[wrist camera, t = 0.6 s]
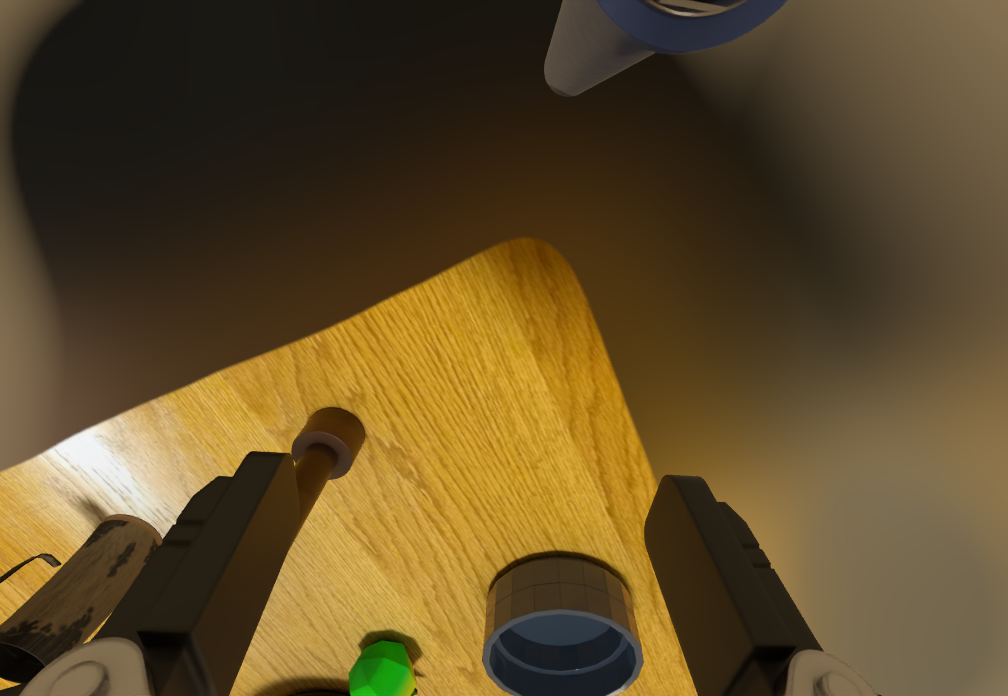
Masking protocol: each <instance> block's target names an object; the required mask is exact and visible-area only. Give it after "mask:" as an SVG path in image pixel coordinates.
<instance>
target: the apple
mask: <svg viewBox="0 0 1008 696" xmlns="http://www.w3.org/2000/svg"><path fill="white" fill-rule="evenodd" d="M416 685H417V683H416V679H415V674H414V670H413V666H412V663H411V661H410V659H409V656H408V654H407V651H406V649H405V646H404V644H402V643H396V642H389V641H383V640H381V641H379V642H377V643H375V644H373V645H371V646H368V647H366V648H364V650H363V652H362V653H361V655H360V656H359V658H358V659H357V661H356V663H355V664H354V666H353V667H352V669H351V671H350V672H349V689H350V695H351V696H413V695H416V694H417V689H416V688H415V687H416Z"/></svg>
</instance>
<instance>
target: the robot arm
mask: <svg viewBox="0 0 1008 696" xmlns="http://www.w3.org/2000/svg"><path fill="white" fill-rule="evenodd" d="M638 1H639V2H641V3H642V4H643V5H644V6H646V7H648V8H649V9H651V10H653V11H655V12H657V13H659V14H661V15H664V16H667V17H671V18H676V19H685V20H694V19H703V18H709V17H713V16H716V15H719V14H722V13H725V12H727V11H729V10H731V9H733V8H735V7H737V6H739V5H741V4H743V3H745V2H746V1H748V0H638ZM299 513H300V502H299V495H298V489H297V482H296V475H295V468H294V461H293V457H292V455H291V454H290V453H277V452H258V451H252V452H250V453H248V454H247V455H246V457H245V458H244V460H243V461H242V463H241V464H240V466H239V468H238V469H237V471H236V472H235V474H234V476H233V477H227V476H218V477H216V478H215V479H214V480H213V481H211V482H210V483H209V484H207V485H206V486H205V487H204V488H202V489H201V490H200V491H199V492H197V493H196V494H195V495H193V497H192V498H191V500H190V501H189V502H188V504H187V505H186V507H185V508H184V510H183V511H182V513H181V514H180V515H179V517H178V518H177V522H176V524H175V525H173V526H172V527H171V528H170V530H169V531H168V533H167V534H166V536H165V537H164V539H163V542H162V544H161V545H159V546H158V547H157V549H156V550H155V551H154V553H153V554H152V556H151V557H150V559H149V560H148V562H147V563H146V564H145V566H144V567H143V569H142V570H141V572H140V573H139V575H138V576H137V577H136V579H135V580H134V582H133V583H132V585H131V586H130V588H129V589H128V590H127V592H126V593H125V595H124V596H123V598H122V599H121V601H120V602H119V603H118V605H117V606H116V608H115V609H114V611H113V612H112V614H111V615H110V616H109V618H108V619H107V621H106V622H105V624H104V625H103V626H102V628H101V629H100V630H99V632H98V633H97V634H96V635H95V636H94V637H93V638H92V639H91V641H90V642H87V643H84V644H82V645H80V646H77V647H75V648H73V649H71V650H70V651H68V652H66V653H64V654H63V655H61V656H60V657H58V658H57V659H55V660H54V661H52V662H51V663H50V664H49V665H47V666H46V667H45V668H43V669H42V670H41V671H40V672H39V673H38V674H37V675H36V676H35V677H34V678H33V679H32V680H31V681H28V682H26V683H23V684H20V685H17V686H14V687H10V688H7V689H3V690H0V696H229V694H230V691H231V689H232V687H233V684H234V682H235V679H236V677H237V674H238V672H239V669H240V667H241V665H242V662H243V660H244V657H245V655H246V652H247V650H248V648H249V645H250V643H251V640H252V638H253V635H254V633H255V630H256V628H257V626H258V623H259V621H260V618H261V616H262V613H263V611H264V609H265V606H266V604H267V601H268V599H269V596H270V594H271V591H272V589H273V587H274V584H275V582H276V579H277V577H278V574H279V572H280V569H281V567H282V565H283V562H284V560H285V557H286V555H287V552H288V550H289V548H290V545H291V543H292V540H293V538H294V535H295V532H296V529H297V525H298V521H299ZM644 538H645V545H646V549H647V552H648V555H649V558H650V561H651V563H652V566H653V569H654V572H655V575H656V578H657V580H658V583H659V586H660V589H661V592H662V595H663V597H664V600H665V603H666V606H667V609H668V612H669V615H670V617H671V620H672V623H673V626H674V629H675V632H676V634H677V637H678V640H679V643H680V646H681V649H682V651H683V654H684V657H685V660H686V663H687V666H688V668H689V671H690V674H691V677H692V680H693V683H694V685H695V688H696V691H697V694H698V696H881V695H879V694H877V693H876V692H875V691H874V689H873V688H872V687H871V685H870V684H869V683H868V682H867V681H866V680H865V679H864V678H863V677H862V676H861V675H860V674H859V673H858V672H857V671H856V670H854V669H853V668H852V667H851V666H849V665H848V664H847V663H845V662H843V661H842V660H840V659H838V658H837V657H835V656H833V655H831V654H828V653H825V652H824V651H823V649H822V648H821V646H820V645H819V643H818V642H817V640H816V639H815V637H814V635H813V634H812V632H811V630H810V629H809V627H808V625H807V624H806V622H805V620H804V618H803V617H802V615H801V614H800V612H799V610H798V609H797V607H796V605H795V603H794V602H793V600H792V599H791V597H790V595H789V593H788V592H787V590H786V588H785V587H784V585H783V584H782V582H781V580H780V578H779V577H778V575H777V574H776V572H775V570H774V569H771V566H770V565H771V563H770V562H769V560H768V558H767V557H766V555H765V553H764V552H763V550H762V549H760V548H759V543H758V542H757V540H756V538H755V537H754V535H753V533H752V532H751V530H750V528H749V527H748V525H747V523H746V522H745V521H744V520H743V519H742V518H741V517H740V516H739V515H738V514H737V513H736V512H735V511H734V510H733V509H732V508H731V507H730V506H729V505H728V504H726V503H725V502H717V501H716V499H715V498H714V496H713V494H712V492H711V491H710V489H709V487H708V485H707V483H706V482H705V481H704V479H702V478H701V477H698V476H680V475H665V476H664V477H663V478H662V480H661V482H660V484H659V487H658V490H657V492H656V495H655V497H654V500H653V503H652V505H651V508H650V510H649V513H648V516H647V518H646V521H645V527H644Z"/></svg>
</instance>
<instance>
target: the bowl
mask: <svg viewBox="0 0 1008 696" xmlns="http://www.w3.org/2000/svg"><path fill="white" fill-rule="evenodd" d="M482 662H483V665H484V667H485V670H486V672H487V675H488V676H489V677H490V678H491V679H492V680H493V681H494V683H495V684H496V685H497V686H498V687H499V688H501V689H502V690H504V691H506V692H507V693H509V694H511V695H513V696H615V695H617V694H619V693H621V692H623V691H625V690H626V689H627V688H628V687H629V686H630V685H631V684H632V683H633V682H634V681H635V680H636V679H637V678H638V676H639V673H640V671H641V668H642V665H643V663H644V661H643V654H642V648H641V643H640V638H639V634H638V629H637V625H636V620H635V616H634V611H633V606H632V602H631V597H630V594H629V593H628V591H627V590H626V588H625V587H624V585H623V584H622V583H621V581H620V580H619V579H618V578H616V577H615V576H613V575H612V574H611V573H609V572H608V571H606V570H605V569H603V568H602V567H600V566H598V565H596V564H594V563H591V562H589V561H586V560H582V559H578V558H573V557H564V556H552V557H543V558H537V559H533V560H530V561H527V562H525V563H522V564H520V565H518V566H516V567H514V568H513V569H512V570H510V571H509V572H508V573H506V574H505V575H504V576H502V577H501V578H500V579H498V580H497V582H496V583H495V585H494V586H493V588H492V589H491V591H490V593H489V594H488V600H487V608H486V619H485V631H484V643H483V655H482Z"/></svg>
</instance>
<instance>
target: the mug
mask: <svg viewBox="0 0 1008 696" xmlns="http://www.w3.org/2000/svg"><path fill="white" fill-rule="evenodd" d="M162 542H163V541H162V539H161V537H160V535H159V533H158V532H157V531H156V530H155V529H154V528H153V527H152V526H151V525H149V524H148V523H146V522H144V521H143V520H141V519H138V518H135V517H133V516H128V515H113V516H110V517H108V518H106V519H105V520H104V521H103V522H102V523H101V524H100V525H99V526H98V527H97V529H96V530H95V531H94V532H93V533H92V535H91V536H90V537H89V538H88V539H87V541H86V542H85V543H84V544H83V545H82V547H81V548H80V549H79V550H78V551H77V552H76V553H75V554H74V555H73V556H72V557H71V558H70V559H69V560H68V561H67V562H66V563H65V564H64V565H63V566H62V567H61V568H60V570H59V571H58V572H57V573H56V574H55V575H54V576H53V577H52V578H51V579H50V580H49V581H48V582H47V583H46V584H45V585H44V586H43V587H42V588H40V589H39V590H38V591H37V592H36V593H35V594H34V595H33V596H32V597H31V598H30V599H29V600H28V601H27V602H26V603H25V604H23V605H22V606H21V607H20V608H19V609H18V610H17V611H16V612H15V613H14V614H13V615H12V616H11V617H10V618H9V619H7V620H6V621H5V622H4V623H3V624H1V625H0V678H3V679H5V680H8V681H11V682H15V683H20V684H23V683H26V682H28V681H31V680H32V679H33V678H34V677H35V676H36V675H37V674H38V673H39V672H40V671H41V670H42V669H43V668H45V667H46V666H47V665H49V664H50V663H51V662H52V661H54V660H55V659H57V658H58V657H60V656H61V655H63V654H64V653H66V652H68V651H70V650H71V649H73V648H75V647H77V646H80V645H82V644H83V643H84V642H85V641H86V639H87V638H88V637H89V636H90V635H91V634H92V633H93V632H94V631H95V630H96V629H97V628H98V627H99V625H100V624H101V623H102V622H103V621H104V620H105V619H106V618H107V617H108V616H109V615H110V614H111V613H112V611H113V610H114V609H115V608H116V606H117V605H118V603H119V602H120V601H121V599H122V598H123V596H124V595H125V593H126V592H127V590H128V589H129V588H130V586H131V585H132V583H133V582H134V580H135V579H136V577H137V576H138V575H139V573H140V572H141V570H142V569H143V567H144V566H145V564H146V563H147V562H148V560H149V559H150V557H151V556H152V554H153V553H154V551H155V550H156V549H157V547H158V546H159V545H161V544H162ZM35 558H42V559H44V560H45V561H46V562H47V563H49V564H50V565H51V566H52V567H57V566H60V565H61V563H60V562H59V561H58V560H57V559H56V558H55V557H54V556H52V555H51V554H40V555H38V556H35V557H31V558H30V559H28V560H26V561H24V562H22V563H21V564H19V565H17V566H15V567H14V568H12V569H11V570H10V571H8V572H7V573H6V574H4V575H3V576H1V577H0V583H2V582H3V581H4V580H6V579H7V578H8V577H9V576H11V575H12V574H13V573H15V572H16V571H17V570H19V569H20V568H21V567H23V566H24V565H25V564H27V563H29V562H30V561H32V560H34V559H35Z"/></svg>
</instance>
